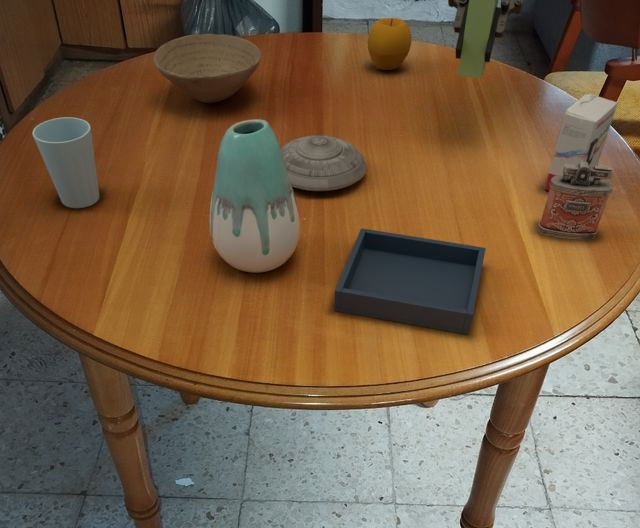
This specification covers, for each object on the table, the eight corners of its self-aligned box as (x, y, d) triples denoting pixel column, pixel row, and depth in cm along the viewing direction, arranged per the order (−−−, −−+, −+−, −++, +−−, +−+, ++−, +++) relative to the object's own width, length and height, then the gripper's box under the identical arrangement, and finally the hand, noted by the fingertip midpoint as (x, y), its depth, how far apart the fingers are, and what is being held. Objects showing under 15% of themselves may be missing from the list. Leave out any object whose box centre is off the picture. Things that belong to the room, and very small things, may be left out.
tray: (481, 267, 90) (485, 247, 87) (468, 335, 81) (473, 314, 78) (359, 247, 92) (360, 228, 90) (334, 310, 83) (334, 290, 81)
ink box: (572, 200, 101) (597, 121, 93) (542, 189, 103) (563, 111, 94) (594, 177, 106) (620, 100, 97) (565, 167, 108) (587, 91, 99)
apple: (387, 81, 130) (391, 30, 123) (356, 67, 134) (358, 18, 127) (417, 69, 134) (422, 19, 127) (386, 56, 138) (390, 8, 131)
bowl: (223, 130, 115) (218, 81, 109) (139, 106, 121) (130, 58, 115) (281, 91, 126) (280, 45, 120) (201, 71, 132) (196, 25, 126)
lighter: (537, 235, 95) (557, 168, 87) (537, 222, 97) (555, 155, 90) (596, 241, 94) (621, 174, 87) (594, 228, 96) (618, 161, 89)
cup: (104, 182, 103) (87, 113, 96) (110, 208, 99) (92, 138, 91) (53, 189, 102) (31, 120, 94) (56, 216, 97) (33, 146, 89)
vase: (197, 252, 91) (178, 120, 78) (268, 224, 96) (261, 94, 83) (244, 295, 85) (232, 159, 72) (317, 262, 90) (318, 129, 77)
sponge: (487, 61, 107) (501, -19, 98) (481, 78, 102) (496, -4, 94) (464, 58, 107) (477, -22, 99) (457, 75, 103) (470, -7, 95)
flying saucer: (289, 145, 112) (288, 111, 108) (377, 159, 109) (379, 125, 105) (256, 189, 103) (254, 154, 98) (351, 206, 100) (353, 171, 95)
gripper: (564, -85, 100) (527, 74, 102) (453, -94, 103) (418, 61, 105) (573, -124, 93) (532, 49, 95) (452, -132, 96) (415, 35, 98)
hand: (472, 55), depth 100 cm, fingers closed on sponge, 4 cm apart
